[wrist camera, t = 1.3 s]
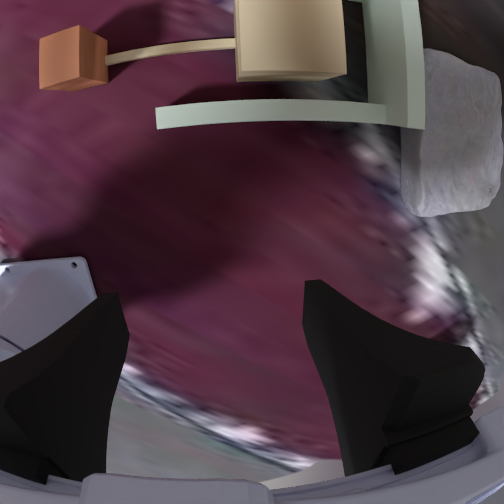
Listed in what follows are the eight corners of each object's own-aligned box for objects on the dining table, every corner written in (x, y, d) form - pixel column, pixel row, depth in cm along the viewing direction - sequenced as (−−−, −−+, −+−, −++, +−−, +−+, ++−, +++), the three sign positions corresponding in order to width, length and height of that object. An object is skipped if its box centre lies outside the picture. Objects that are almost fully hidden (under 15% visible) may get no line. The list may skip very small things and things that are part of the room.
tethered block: (75, 105, 16) (36, 106, 12) (73, 36, 14) (36, 21, 10) (317, 82, 17) (346, 73, 13) (313, 11, 15) (340, -14, 11)
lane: (165, 127, 18) (146, 132, 13) (160, -15, 14) (144, -48, 9) (383, 123, 19) (424, 129, 14) (375, -8, 15) (412, -30, 10)
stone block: (465, 66, 19) (382, 47, 16) (509, 69, 14) (434, 42, 12) (463, 193, 24) (386, 209, 22) (502, 210, 20) (431, 233, 18)
